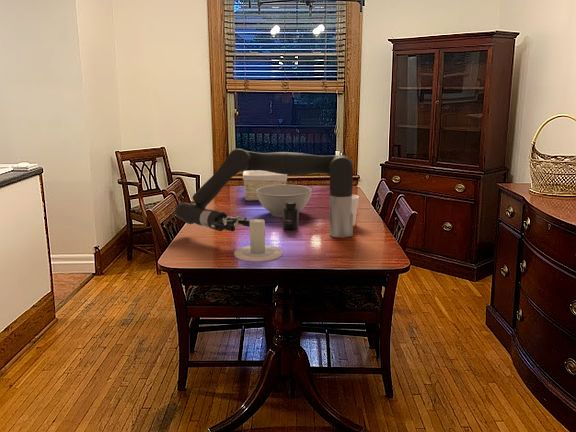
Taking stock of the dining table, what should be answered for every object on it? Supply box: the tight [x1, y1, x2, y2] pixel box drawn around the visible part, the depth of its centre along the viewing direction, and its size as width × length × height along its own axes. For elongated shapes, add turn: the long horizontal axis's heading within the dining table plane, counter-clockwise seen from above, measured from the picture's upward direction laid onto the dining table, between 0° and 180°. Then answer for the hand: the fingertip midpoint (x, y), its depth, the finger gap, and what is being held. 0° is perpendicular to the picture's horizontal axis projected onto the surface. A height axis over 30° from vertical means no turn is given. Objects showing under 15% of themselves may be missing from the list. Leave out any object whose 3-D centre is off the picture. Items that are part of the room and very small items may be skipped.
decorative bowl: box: [256, 184, 313, 218], centre depth 267 cm, size 27×27×12 cm
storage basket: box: [242, 170, 288, 201], centre depth 302 cm, size 24×16×15 cm
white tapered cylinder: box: [249, 218, 266, 254], centre depth 207 cm, size 6×6×12 cm
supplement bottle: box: [282, 201, 300, 232], centre depth 241 cm, size 7×7×12 cm
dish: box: [233, 244, 283, 263], centre depth 208 cm, size 18×18×1 cm
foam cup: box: [352, 194, 360, 227], centre depth 246 cm, size 10×9×13 cm
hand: (242, 226), depth 211 cm, fingers open, 8 cm apart
